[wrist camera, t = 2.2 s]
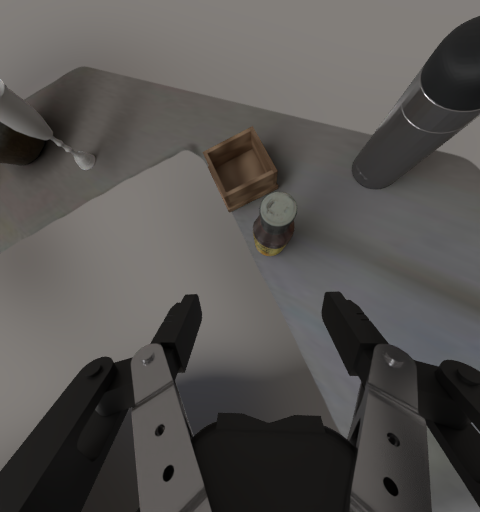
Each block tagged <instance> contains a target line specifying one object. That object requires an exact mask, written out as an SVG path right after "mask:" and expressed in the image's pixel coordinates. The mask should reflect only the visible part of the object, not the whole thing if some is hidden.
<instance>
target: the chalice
mask: <svg viewBox="0 0 480 512" xmlns="http://www.w3.org/2000/svg"><path fill="white" fill-rule="evenodd" d="M0 122H2V123H3V124H5V125H7V126H8V127H10V128H12V129H13V130H15V131H17V132H20V133H23V134H25V135H28V136H31V137H35V138H38V139H42V140H49V139H50V140H52V141H54V142H55V143H56V144H57V146H61V147H63V148H64V149H65V151H66V152H70V153H72V154H73V155H74V159H75V162H76V163H77V164H78V165H79V166H80V168H81V169H82V170H89V169H91V168H92V167H93V165H94V164H95V156H94V155H92V154H89V153H87V152H84V151H78V152H75V151H74V150H73V149H72V148H71V146H67V145H65V144H64V143H63V141H62V140H58V139H56V138H55V137H54V136H53V131H52V130H51V128H50V127H49V126H48V124H47V123H46V121H45V120H44V119H43V118H42V116H41V115H40V114H39V113H38V112H37V111H36V110H35V108H33V107H32V106H31V105H29V104H28V103H27V102H25V101H24V100H23V99H22V98H20V97H19V96H18V95H16V94H15V93H13V92H12V91H11V90H10V89H8V88H7V86H6V85H5V84H4V82H3V81H2V80H1V79H0Z"/></svg>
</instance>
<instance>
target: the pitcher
mask: <svg viewBox="0 0 480 512" xmlns="http://www.w3.org/2000/svg"><path fill="white" fill-rule="evenodd" d="M44 145H45V140H42V139H38V138H35V137H31V136H28V135H25V134H23V133H20V132H17V131H15V130H13V129H12V128H10V127H8V126H7V125H5V124H3V123H2V122H0V163H8V164H16V165H26V164H29V163H31V162H32V161H33V160H35V159H36V158H37V157H38V156H39V154H40V152H41V150H42V148H43V147H44Z"/></svg>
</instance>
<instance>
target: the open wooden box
mask: <svg viewBox="0 0 480 512" xmlns="http://www.w3.org/2000/svg"><path fill="white" fill-rule="evenodd" d="M203 154H204V156H205V158H206V160H207V163H208V165H209V166H208V168H209V170H210V173H211V175H212V177H213V179H214V181H215V183H216V185H217V188H218V190H219V192H220V194H221V196H222V198H223V200H224V203H225V205H226V207H227V209H228V211H229V212H231V211H233V210H235V209H237V208H240V207H242V206H244V205H246V204H248V203H250V202H252V201H254V200H256V199H258V198H260V197H262V196H264V195H266V194H268V193H270V192H272V191H274V190H276V189H278V184H277V182H276V181H277V172H278V171H277V169H276V167H275V166H274V164H273V162H272V160H271V158H270V157H269V155H268V153H267V151H266V149H265V148H264V146H263V144H262V142H261V140H260V139H259V137H258V135H257V133H256V132H255V130H254V128H253V126H252V127H250V128H248V129H246V130H244V131H242V132H240V133H239V134H237V135H235V136H233V137H231V138H229V139H227V140H225V141H223V142H221V143H219V144H217V145H215V146H214V147H212V148H210V149H208V150H206V151H204V152H203Z"/></svg>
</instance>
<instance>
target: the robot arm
mask: <svg viewBox="0 0 480 512" xmlns="http://www.w3.org/2000/svg"><path fill="white" fill-rule="evenodd" d="M478 116H480V16H478V17H476V18H473V19H471V20H469V21H467V22H465V23H463V24H461V25H460V26H458V27H457V28H455V29H454V30H453V31H452V32H451V33H450V34H449V35H448V36H447V37H445V38H444V40H443V41H442V42H441V43H440V44H439V46H438V47H437V49H436V50H435V51H434V52H433V54H432V55H431V56H430V58H429V59H428V61H427V62H426V63H425V65H424V66H423V67H422V69H421V70H420V72H419V73H418V74H417V76H416V77H415V78H414V80H413V81H412V82H411V84H410V85H409V87H408V88H407V89H406V91H405V92H404V93H403V95H402V96H401V98H400V99H399V100H398V102H397V103H396V104H395V106H394V107H393V109H392V110H391V111H390V113H389V114H388V115H387V117H386V118H385V119H384V121H383V122H382V124H381V125H380V126H379V128H378V129H377V130H376V132H375V133H374V134H373V136H372V137H371V138H370V140H369V141H368V142H367V144H366V145H365V146H364V148H363V149H362V150H361V152H360V153H359V154H358V156H357V157H356V159H355V160H354V162H353V165H352V172H353V176H354V178H355V179H356V180H357V182H359V183H360V184H361V185H363V186H365V187H368V188H372V189H380V188H384V187H387V186H389V185H391V184H392V183H393V182H395V181H396V180H397V179H398V178H400V177H401V176H402V175H404V174H405V173H406V172H408V171H409V170H410V169H412V168H413V167H414V166H415V165H417V164H418V163H419V162H421V161H422V160H423V159H424V158H426V157H427V156H428V155H430V154H431V153H432V152H434V151H435V150H436V149H437V148H439V147H440V146H441V145H443V143H445V142H446V141H448V140H449V139H450V138H452V137H453V136H454V135H455V134H457V133H458V132H459V131H460V130H462V129H463V128H464V127H466V126H467V125H468V124H469V123H471V122H472V121H473V120H475V119H476V118H477V117H478ZM322 319H323V322H324V324H325V326H326V328H327V330H328V332H329V334H330V336H331V338H332V340H333V342H334V344H335V347H336V349H337V351H338V353H339V355H340V357H341V359H342V361H343V363H344V365H345V367H346V369H347V371H348V373H349V375H350V376H359V378H360V380H361V384H360V388H359V392H358V397H357V402H356V406H355V411H354V415H353V420H352V424H351V427H350V430H349V434H348V437H347V439H346V438H344V437H343V436H342V435H341V434H339V433H337V432H336V431H334V430H332V429H330V428H328V427H326V426H323V423H322V420H321V416H302V415H294V416H290V417H287V418H284V419H281V420H278V421H275V422H271V423H266V422H264V421H261V420H259V419H256V418H253V417H250V416H247V415H245V414H239V413H218V418H217V422H214V423H212V424H209V425H207V426H206V427H204V428H203V429H201V430H200V431H199V432H198V433H197V434H195V436H193V433H192V430H191V427H190V424H189V422H188V419H187V416H186V413H185V410H184V407H183V404H182V400H181V397H180V394H179V391H178V388H177V385H176V382H175V379H176V376H177V373H184V372H185V370H186V367H187V364H188V361H189V358H190V355H191V352H192V349H193V346H194V343H195V339H196V336H197V333H198V330H199V327H200V324H201V321H202V311H201V306H200V302H199V297H198V295H197V294H191V295H185V296H184V298H183V300H182V301H181V303H176V304H175V305H174V306H173V307H172V308H171V309H170V311H169V312H168V314H167V316H166V318H165V319H164V322H163V323H162V324H161V326H160V328H159V329H158V331H157V333H156V335H155V337H154V338H153V340H152V342H151V344H149V345H146V346H144V347H143V348H141V349H140V350H139V351H138V352H137V353H136V354H135V355H134V357H132V358H129V359H126V360H122V361H119V362H115V363H114V362H113V360H112V359H111V358H109V357H101V358H98V359H95V360H93V361H92V362H90V363H89V364H87V365H86V366H85V367H84V368H83V369H82V370H81V371H80V372H79V373H78V374H77V376H76V377H75V378H74V379H73V381H72V382H71V383H70V384H69V386H68V387H67V388H66V389H65V391H64V392H63V393H62V394H61V396H60V397H59V398H58V400H57V401H56V402H55V403H54V405H53V406H52V407H51V408H50V410H49V411H48V412H47V413H46V415H45V416H44V417H43V419H42V420H41V421H40V422H39V424H38V425H37V426H36V427H35V429H34V430H33V431H32V432H31V434H30V435H29V436H28V437H27V439H26V440H25V441H24V442H23V444H22V445H21V446H20V447H19V449H18V450H17V451H16V453H15V454H14V455H13V456H12V457H11V459H10V460H9V461H8V463H7V464H6V465H5V466H4V468H3V469H2V470H1V471H0V512H81V511H82V508H83V506H84V504H85V502H86V500H87V497H88V496H89V493H90V491H91V489H92V487H93V485H94V483H95V480H96V478H97V476H98V474H99V472H100V470H101V467H102V465H103V463H104V461H105V459H106V457H107V454H108V452H109V450H110V448H111V446H112V444H113V441H114V439H115V437H116V435H117V433H118V431H119V429H120V426H121V424H122V422H123V420H124V418H125V416H126V413H127V411H128V409H129V408H131V407H133V408H132V424H133V435H134V446H135V457H136V468H137V478H138V490H139V502H140V507H139V508H138V510H137V511H136V512H432V508H431V492H430V476H429V460H428V444H427V428H426V425H427V426H428V428H429V429H430V431H431V433H432V434H433V436H434V437H435V439H436V440H437V442H438V443H439V445H440V447H441V448H442V450H443V451H444V453H445V454H446V456H447V457H448V459H449V461H450V462H451V464H452V465H453V467H454V468H455V470H456V471H457V473H458V475H459V476H460V478H461V479H462V481H463V482H464V484H465V485H466V487H467V489H468V490H469V492H470V493H471V495H472V496H473V498H474V499H475V501H476V502H477V504H478V506H479V507H480V434H479V433H478V431H477V430H476V429H475V428H474V427H473V425H472V424H471V422H472V423H473V424H474V425H475V426H476V427H477V429H478V430H479V431H480V372H479V371H478V370H476V369H474V368H473V367H471V366H469V365H467V364H464V363H461V362H458V361H454V360H444V361H443V362H442V363H441V364H440V366H439V367H438V366H434V365H430V364H426V363H422V362H419V361H415V360H413V359H412V358H411V357H410V356H409V355H408V354H407V353H406V352H404V351H403V350H401V349H399V348H397V347H395V346H393V345H389V344H388V342H387V341H386V340H385V339H384V337H383V336H382V335H381V334H380V332H379V331H378V330H377V329H376V327H375V326H374V325H373V324H372V322H371V321H369V319H368V317H367V316H366V315H364V312H363V311H362V310H361V309H360V307H359V306H358V305H356V304H355V303H353V302H352V301H351V300H346V299H345V298H344V296H343V295H342V294H341V293H340V292H326V293H325V295H324V301H323V306H322Z"/></svg>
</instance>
